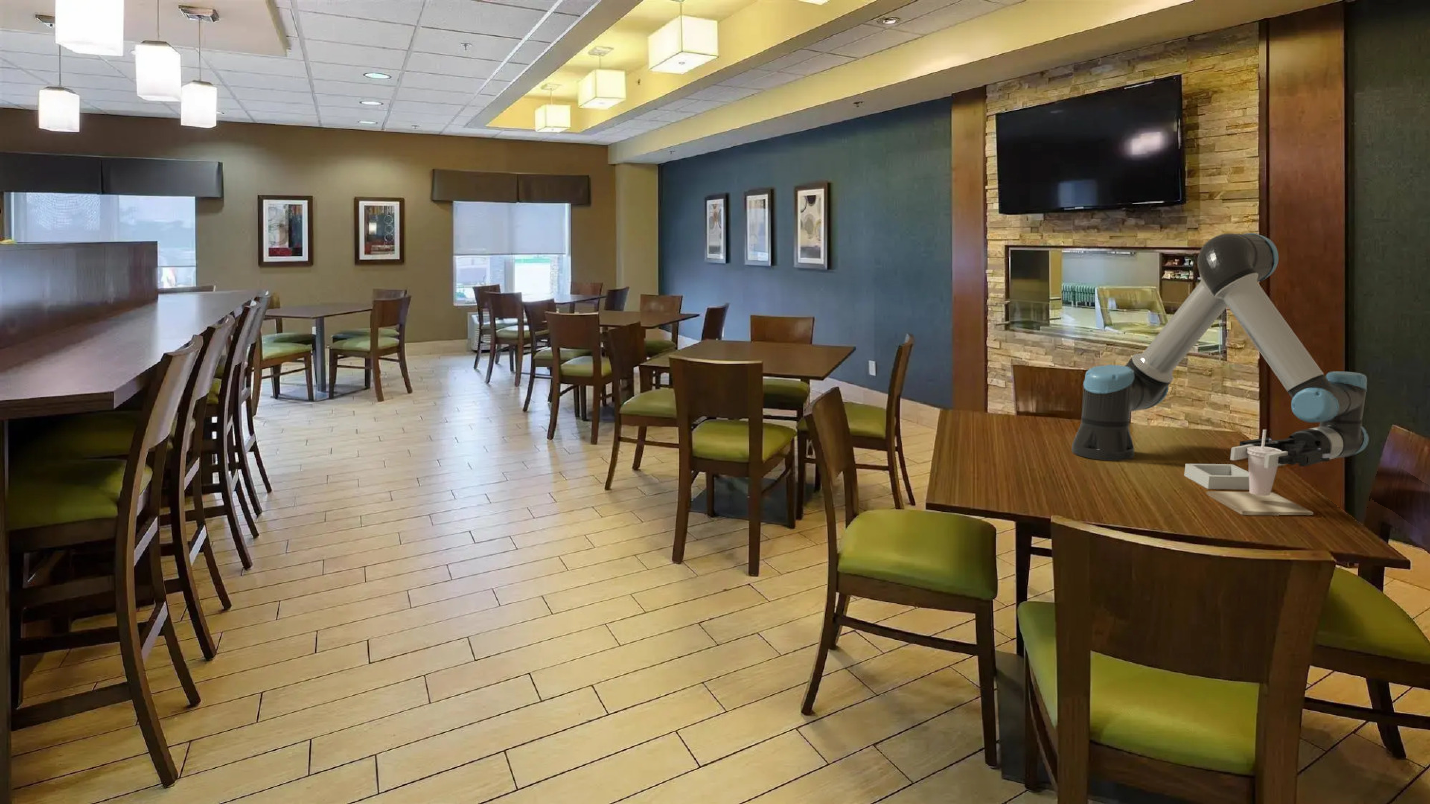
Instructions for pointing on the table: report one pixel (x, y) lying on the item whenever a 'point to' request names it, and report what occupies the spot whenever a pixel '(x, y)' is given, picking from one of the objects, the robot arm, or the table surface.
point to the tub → (1218, 476)
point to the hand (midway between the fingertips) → (1249, 457)
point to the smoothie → (1260, 469)
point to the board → (1258, 503)
